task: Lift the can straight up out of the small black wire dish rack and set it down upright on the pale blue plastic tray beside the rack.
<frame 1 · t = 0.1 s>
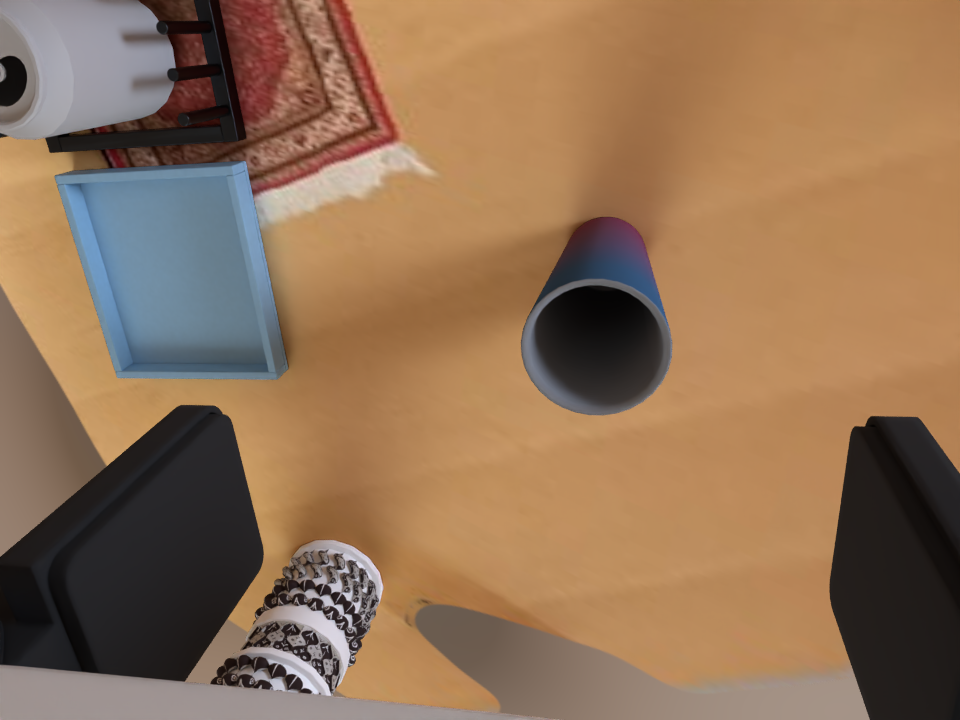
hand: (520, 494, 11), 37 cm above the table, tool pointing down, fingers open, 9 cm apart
tray: (184, 272, 53), on the table
decorative candle: (337, 578, 63), on the table
cup: (605, 254, 47), on the table
can: (131, 56, 47), resting in dish rack
dish rack: (129, 56, 47), on the table
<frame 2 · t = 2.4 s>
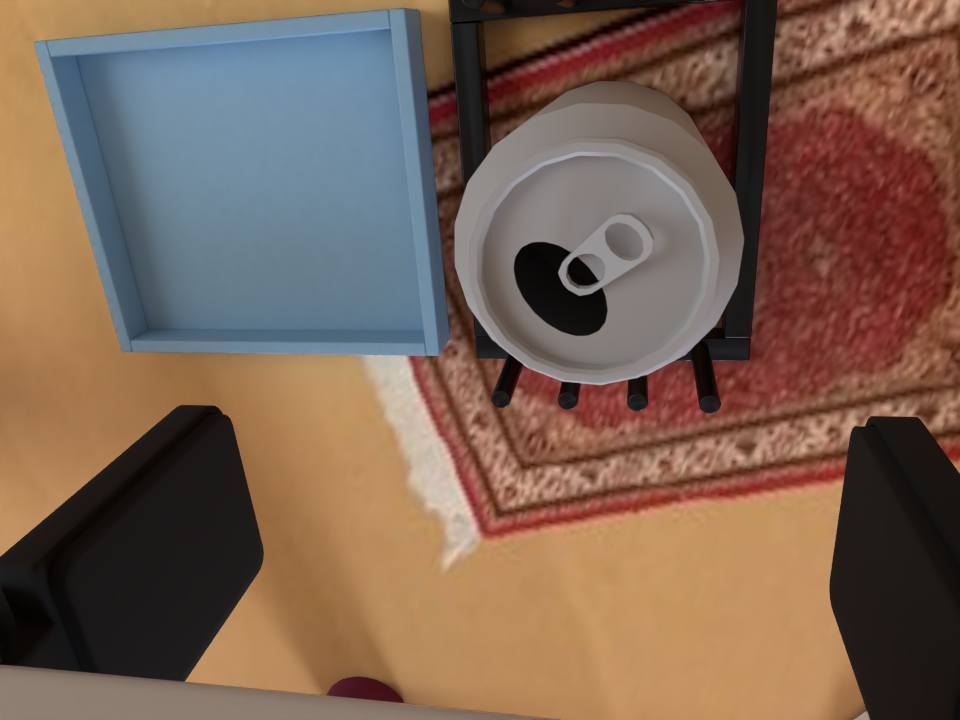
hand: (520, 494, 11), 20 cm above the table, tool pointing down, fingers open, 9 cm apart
tray: (264, 195, 31), on the table
cup: (368, 706, 43), on the table
can: (608, 181, 29), resting in dish rack
dish rack: (608, 182, 28), on the table
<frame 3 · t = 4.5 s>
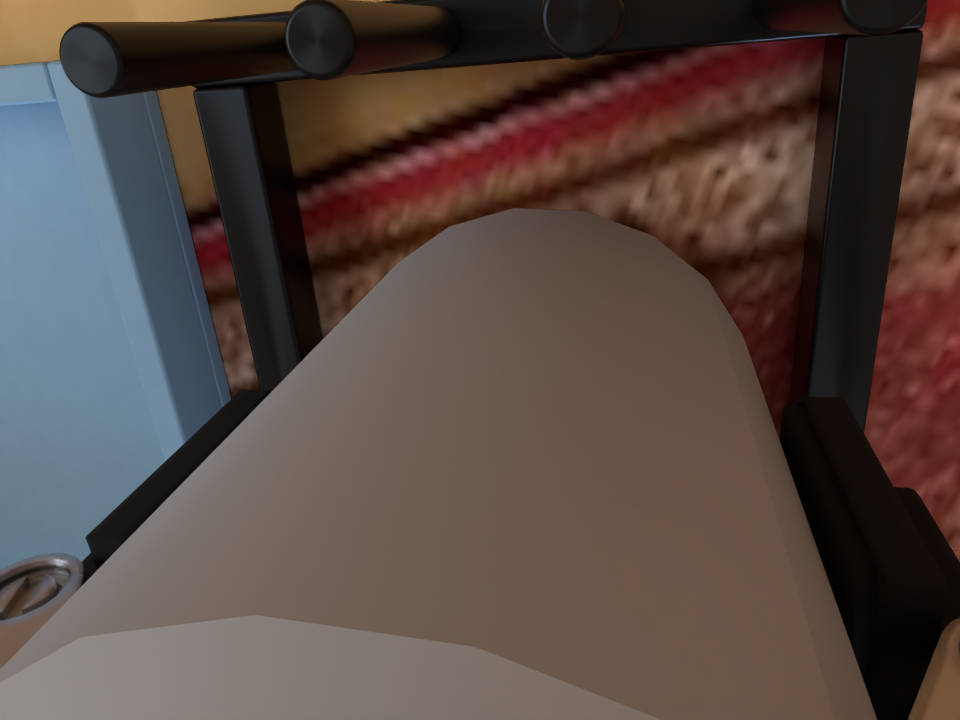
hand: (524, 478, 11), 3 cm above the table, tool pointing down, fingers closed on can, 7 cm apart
can: (548, 381, 15), resting in dish rack, touching gripper
dish rack: (547, 386, 14), on the table
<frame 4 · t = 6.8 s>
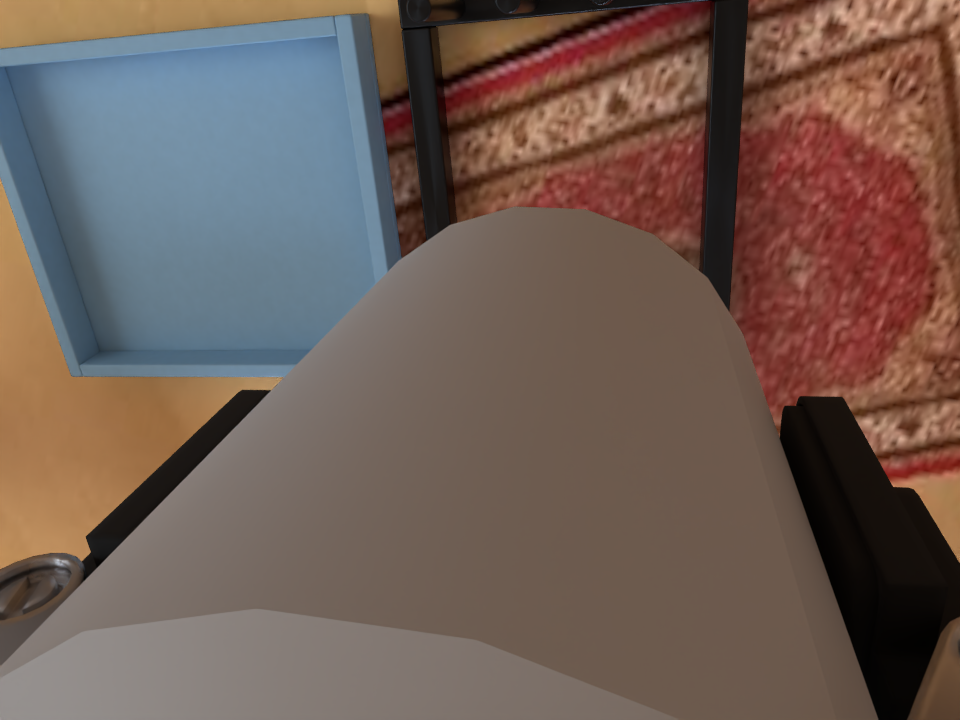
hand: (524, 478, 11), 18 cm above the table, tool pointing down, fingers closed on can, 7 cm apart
tray: (214, 210, 30), on the table
can: (548, 380, 15), point 14 cm above the table, touching gripper
dish rack: (574, 193, 27), on the table
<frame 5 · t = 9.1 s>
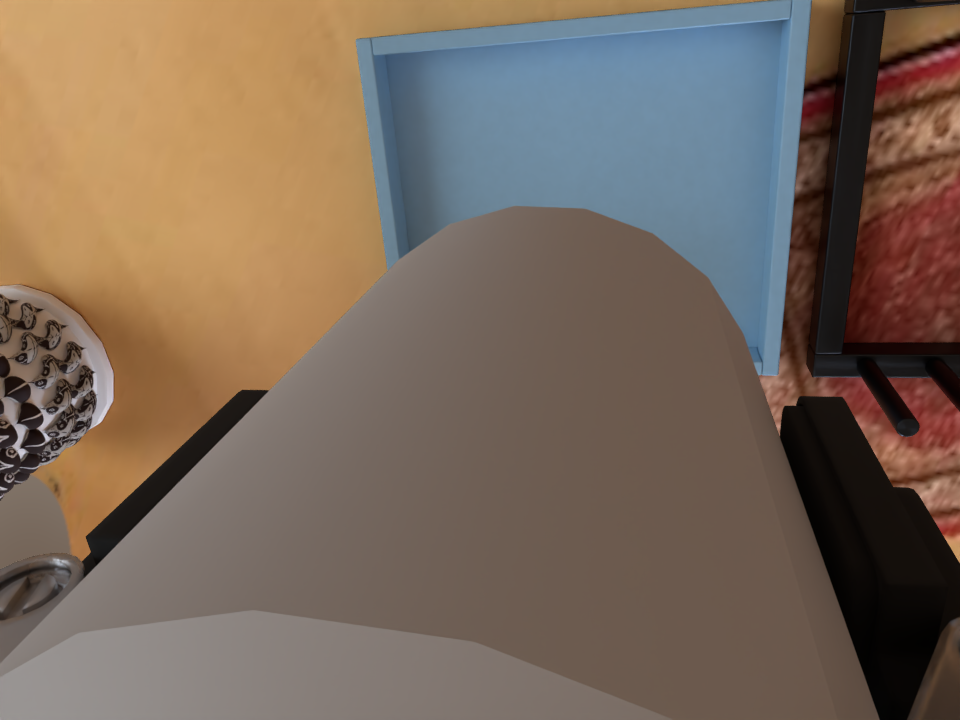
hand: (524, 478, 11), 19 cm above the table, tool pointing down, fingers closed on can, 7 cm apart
tray: (578, 203, 29), on the table
decorative candle: (40, 361, 37), on the table
can: (548, 379, 15), point 16 cm above the table, touching gripper
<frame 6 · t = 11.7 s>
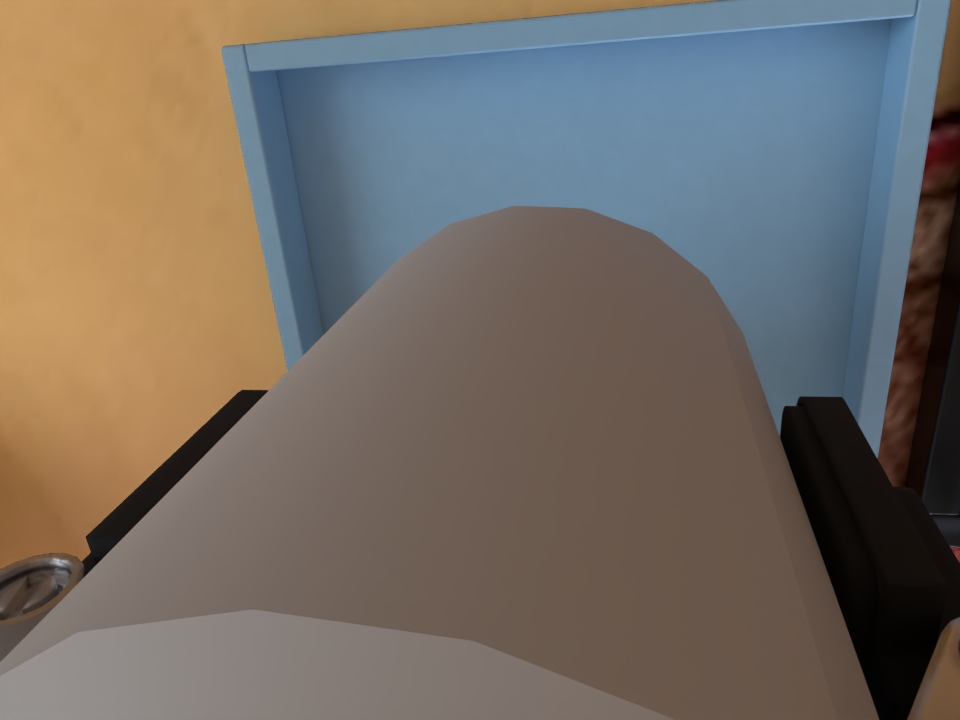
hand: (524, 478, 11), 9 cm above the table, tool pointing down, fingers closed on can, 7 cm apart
tray: (568, 287, 20), on the table
can: (548, 379, 15), point 6 cm above the table, touching gripper
when the fingers open (4 cm above the table, at t = 13.9 s): can stays where it is, resting on tray.
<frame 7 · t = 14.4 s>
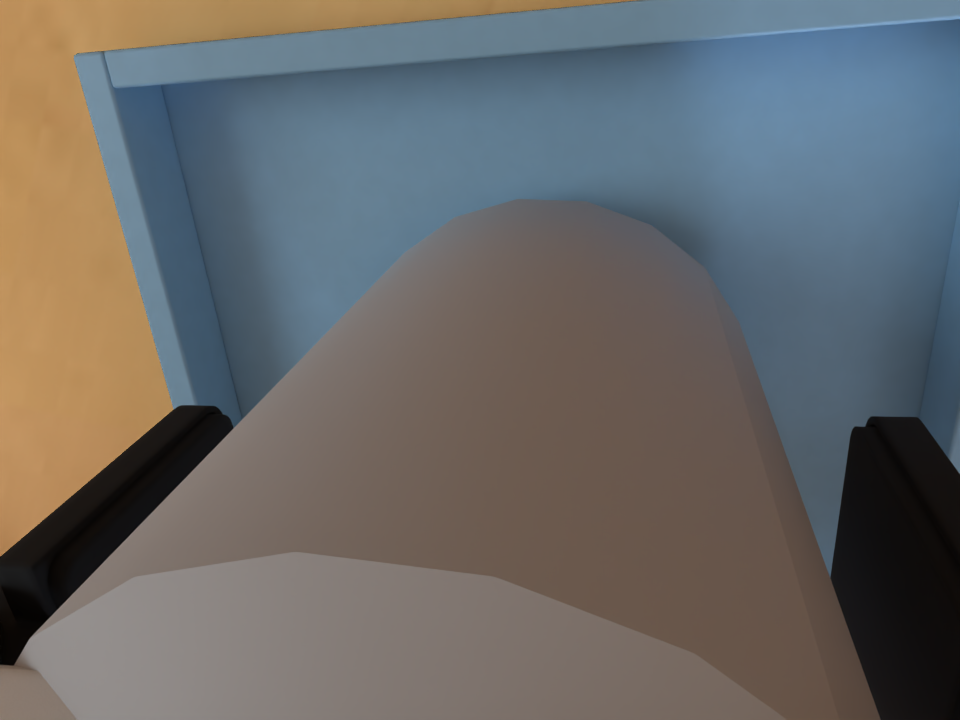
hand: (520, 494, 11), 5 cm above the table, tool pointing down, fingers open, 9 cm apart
tray: (548, 362, 15), on the table
can: (550, 368, 15), resting on tray
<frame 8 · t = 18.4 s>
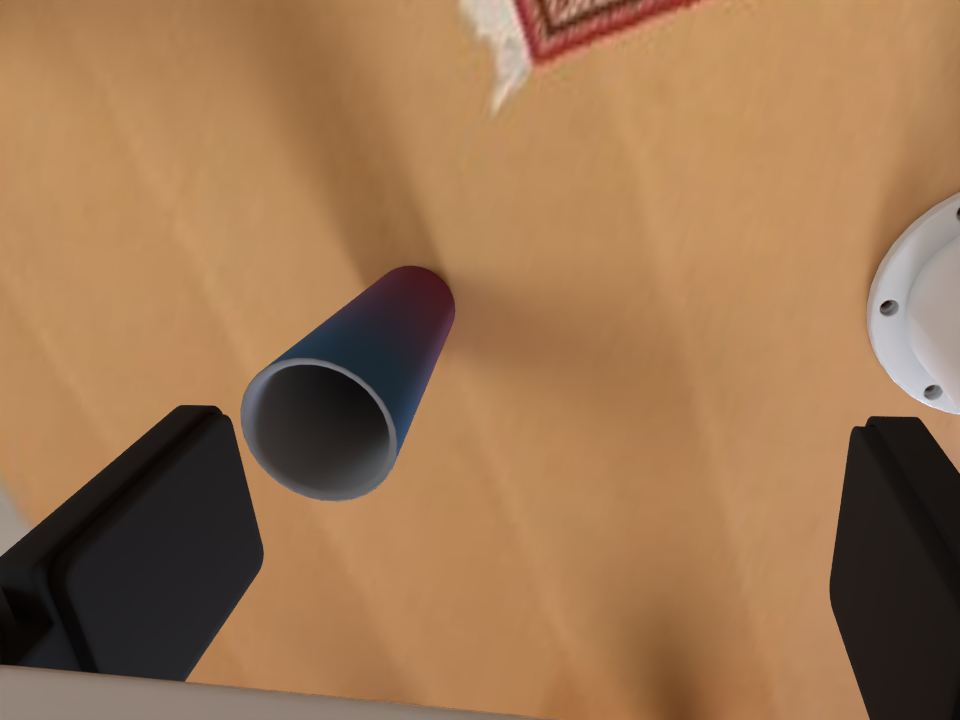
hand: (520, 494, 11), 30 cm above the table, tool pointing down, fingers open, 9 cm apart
cup: (414, 305, 44), on the table
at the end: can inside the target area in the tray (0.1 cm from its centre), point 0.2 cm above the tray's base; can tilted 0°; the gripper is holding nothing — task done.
